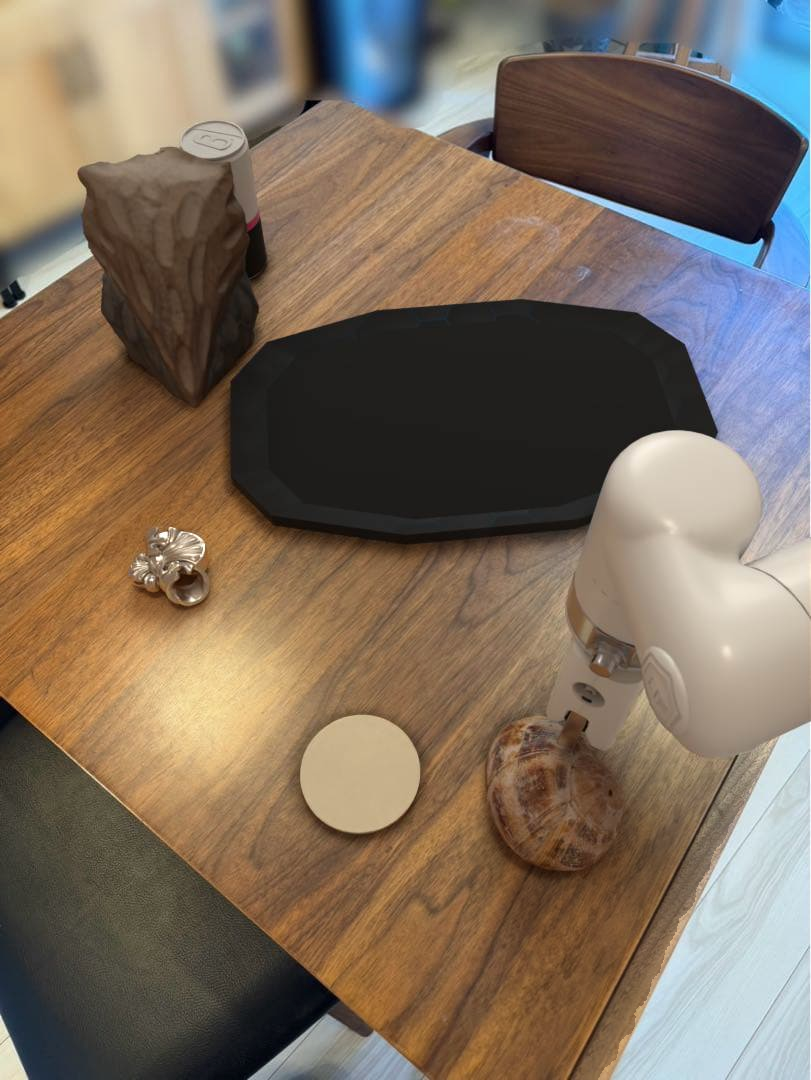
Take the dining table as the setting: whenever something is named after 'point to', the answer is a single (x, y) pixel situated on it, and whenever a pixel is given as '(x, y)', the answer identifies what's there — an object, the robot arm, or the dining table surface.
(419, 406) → the tray
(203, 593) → the ornament
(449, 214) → the dining table surface
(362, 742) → the coaster
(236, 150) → the beverage can
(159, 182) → the brown rock
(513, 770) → the seashell
